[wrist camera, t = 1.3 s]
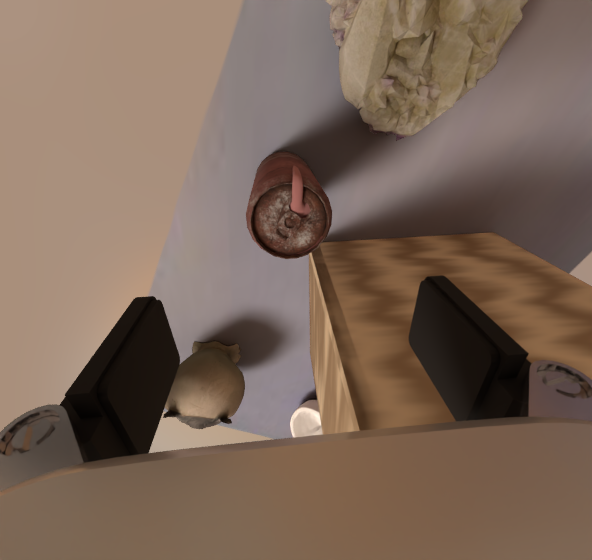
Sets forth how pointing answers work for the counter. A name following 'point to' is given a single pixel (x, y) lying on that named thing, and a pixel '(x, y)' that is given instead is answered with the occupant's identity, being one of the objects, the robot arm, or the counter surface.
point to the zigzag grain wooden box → (399, 312)
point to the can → (287, 207)
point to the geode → (416, 55)
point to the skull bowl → (306, 420)
